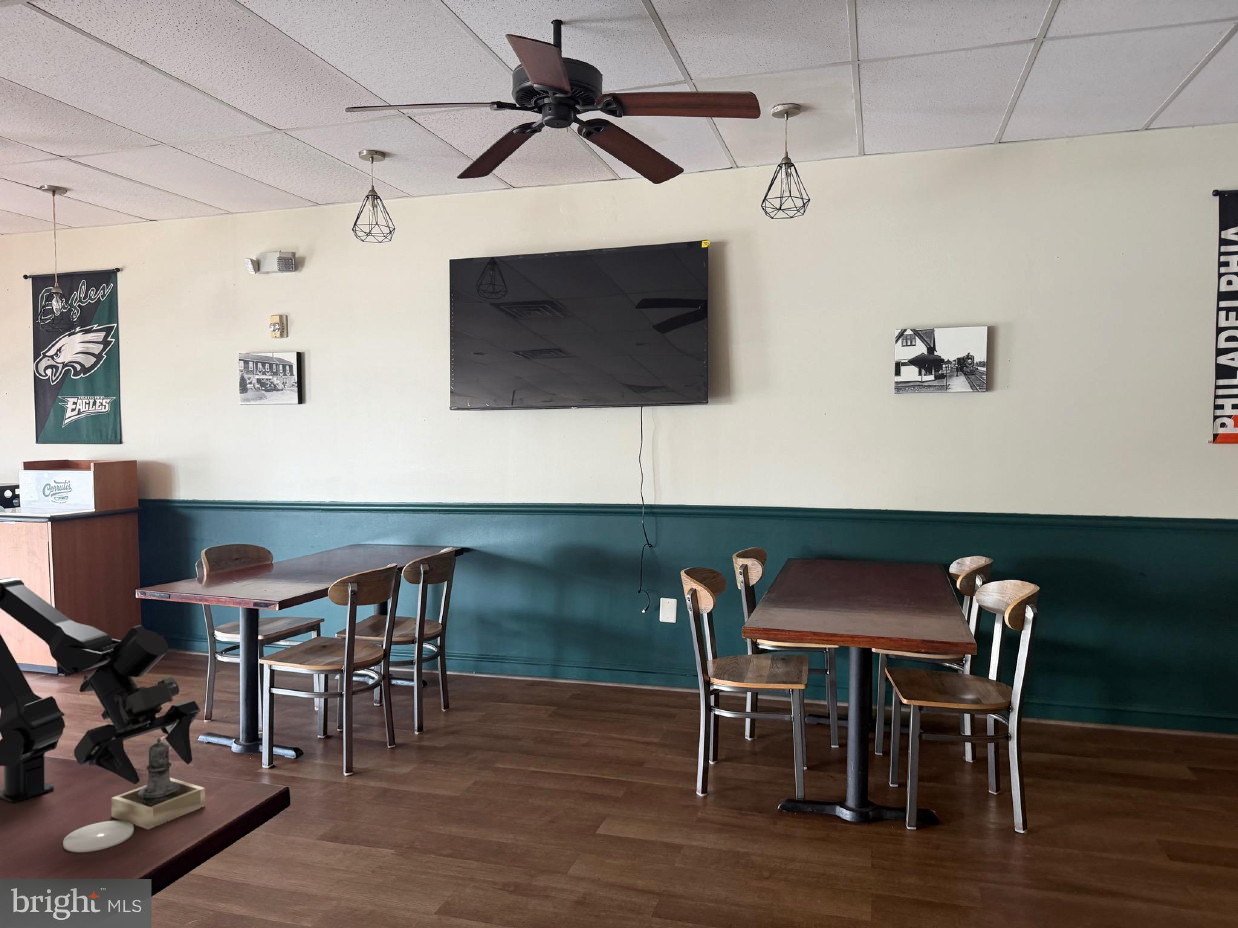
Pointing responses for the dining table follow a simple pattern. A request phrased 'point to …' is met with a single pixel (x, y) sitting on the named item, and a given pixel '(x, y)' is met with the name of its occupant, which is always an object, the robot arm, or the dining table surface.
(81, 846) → the coaster
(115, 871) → the dining table surface
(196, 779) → the dining table surface
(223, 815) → the dining table surface
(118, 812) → the birch holder
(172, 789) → the grey tall domed piece
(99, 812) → the dining table surface
